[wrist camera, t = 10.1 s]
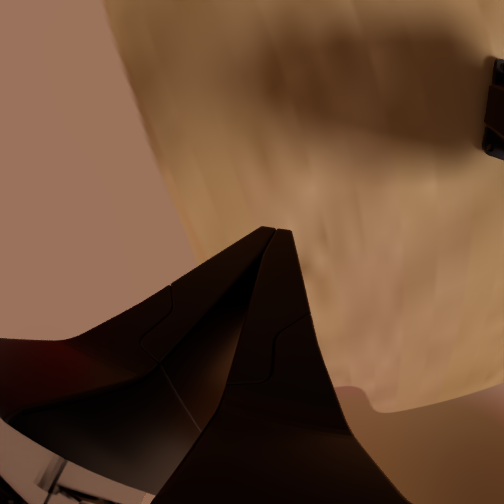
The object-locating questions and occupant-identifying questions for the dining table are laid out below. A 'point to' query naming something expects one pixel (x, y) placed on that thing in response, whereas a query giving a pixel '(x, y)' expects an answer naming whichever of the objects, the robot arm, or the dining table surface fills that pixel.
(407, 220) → the dining table surface
